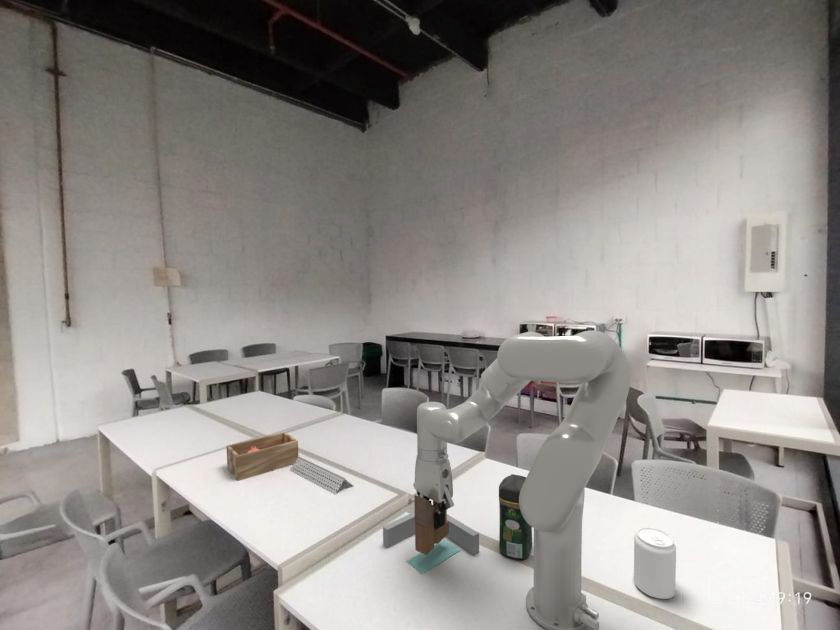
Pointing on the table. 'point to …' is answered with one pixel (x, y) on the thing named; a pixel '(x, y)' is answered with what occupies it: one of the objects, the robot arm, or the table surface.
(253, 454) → the box
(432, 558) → the pad
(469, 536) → the corner wall
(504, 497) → the coffee jar
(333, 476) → the corner bead
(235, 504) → the table surface
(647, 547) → the beverage can
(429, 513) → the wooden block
